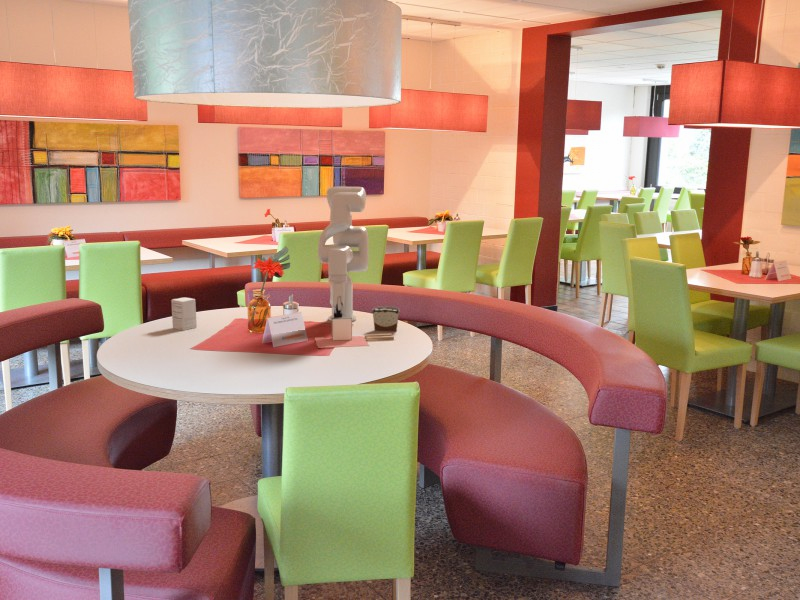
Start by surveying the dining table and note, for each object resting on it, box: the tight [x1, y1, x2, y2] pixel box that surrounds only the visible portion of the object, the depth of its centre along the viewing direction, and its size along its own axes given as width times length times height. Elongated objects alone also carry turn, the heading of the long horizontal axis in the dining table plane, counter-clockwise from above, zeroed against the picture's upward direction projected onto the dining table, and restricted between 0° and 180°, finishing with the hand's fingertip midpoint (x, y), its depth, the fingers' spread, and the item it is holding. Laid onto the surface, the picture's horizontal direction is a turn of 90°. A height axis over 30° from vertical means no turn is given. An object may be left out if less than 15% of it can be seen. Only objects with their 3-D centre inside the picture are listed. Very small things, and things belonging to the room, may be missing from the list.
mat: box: [314, 335, 370, 349], centre depth 308 cm, size 16×20×1 cm
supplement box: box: [170, 296, 197, 331], centre depth 330 cm, size 7×7×13 cm
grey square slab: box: [331, 317, 353, 341], centre depth 310 cm, size 2×9×8 cm
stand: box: [364, 333, 395, 342], centre depth 314 cm, size 6×11×2 cm, turn 102°
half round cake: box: [371, 305, 401, 332], centre depth 330 cm, size 12×6×10 cm, turn 84°
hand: (337, 322), depth 317 cm, fingers closed
